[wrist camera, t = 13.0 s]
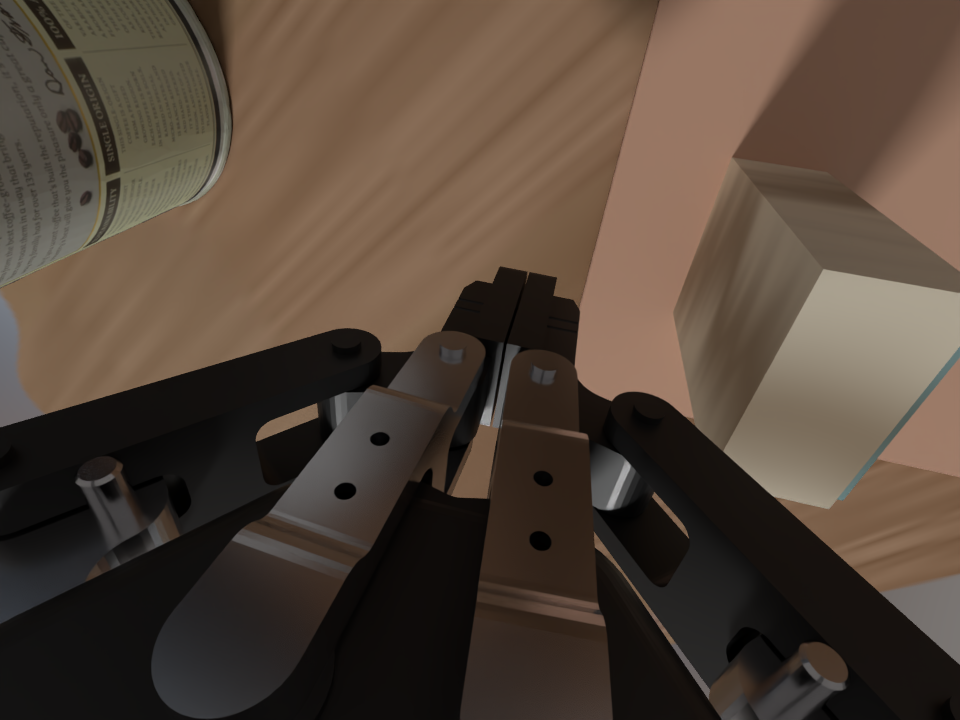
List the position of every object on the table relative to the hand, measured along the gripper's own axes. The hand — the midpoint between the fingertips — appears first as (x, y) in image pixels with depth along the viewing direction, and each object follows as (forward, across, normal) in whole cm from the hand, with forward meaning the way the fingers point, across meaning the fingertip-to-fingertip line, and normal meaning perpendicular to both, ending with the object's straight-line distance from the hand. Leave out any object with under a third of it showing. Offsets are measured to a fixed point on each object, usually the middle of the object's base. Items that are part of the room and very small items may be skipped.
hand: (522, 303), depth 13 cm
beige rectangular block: (+7, -7, 0) cm, 10 cm away
